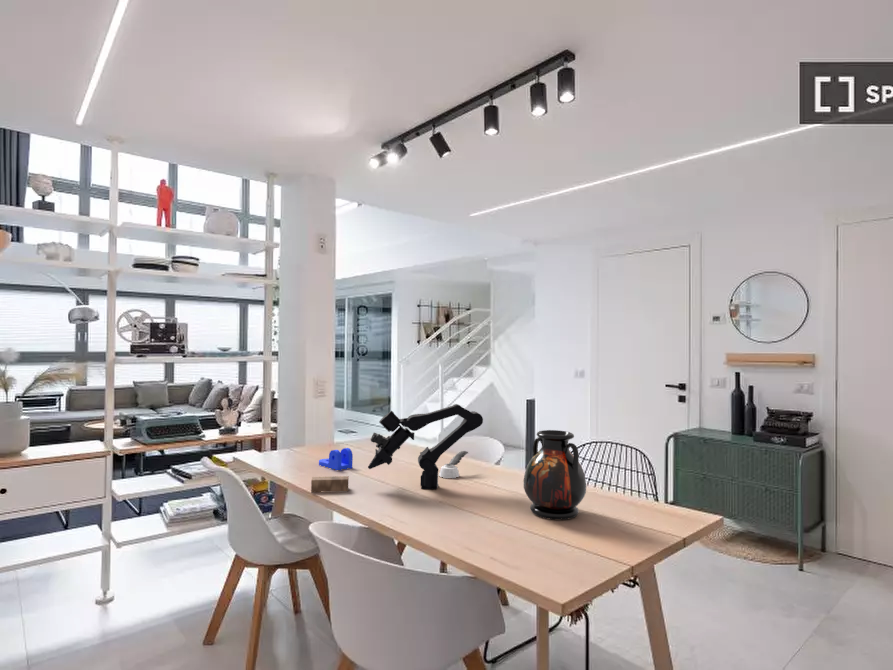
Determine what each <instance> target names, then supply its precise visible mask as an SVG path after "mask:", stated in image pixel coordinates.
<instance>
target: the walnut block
mask: <svg viewBox="0 0 893 670" xmlns="http://www.w3.org/2000/svg"><path fill="white" fill-rule="evenodd" d="M310 484H311V486H310V493H322V492H321V491H348V492H349V476H347V475H346V476H345V475H343V476H341V475H340V476H338V475H337V476H312V478H311V482H310Z"/></svg>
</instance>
